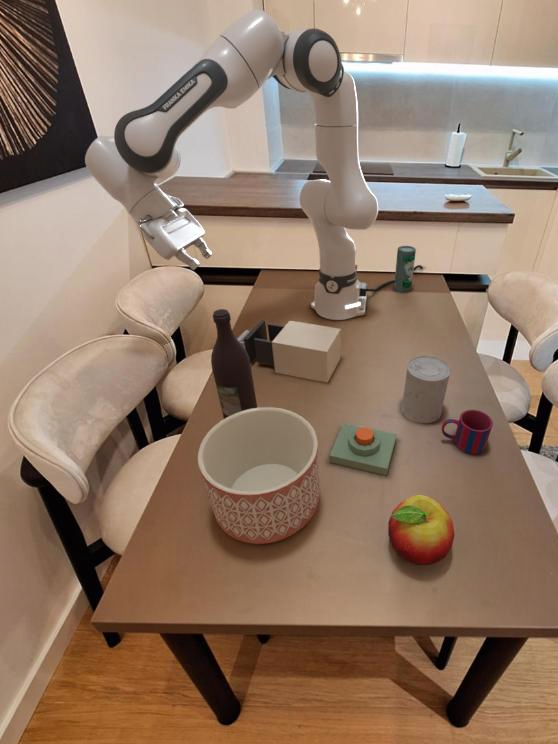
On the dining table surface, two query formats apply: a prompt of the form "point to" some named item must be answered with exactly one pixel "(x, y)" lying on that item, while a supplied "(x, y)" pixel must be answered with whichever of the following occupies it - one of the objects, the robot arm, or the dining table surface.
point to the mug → (471, 431)
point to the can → (404, 268)
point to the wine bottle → (231, 369)
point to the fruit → (421, 530)
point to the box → (363, 450)
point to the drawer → (260, 342)
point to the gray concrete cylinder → (425, 388)
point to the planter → (261, 473)
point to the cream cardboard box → (307, 351)
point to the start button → (364, 436)
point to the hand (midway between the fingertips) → (203, 261)
